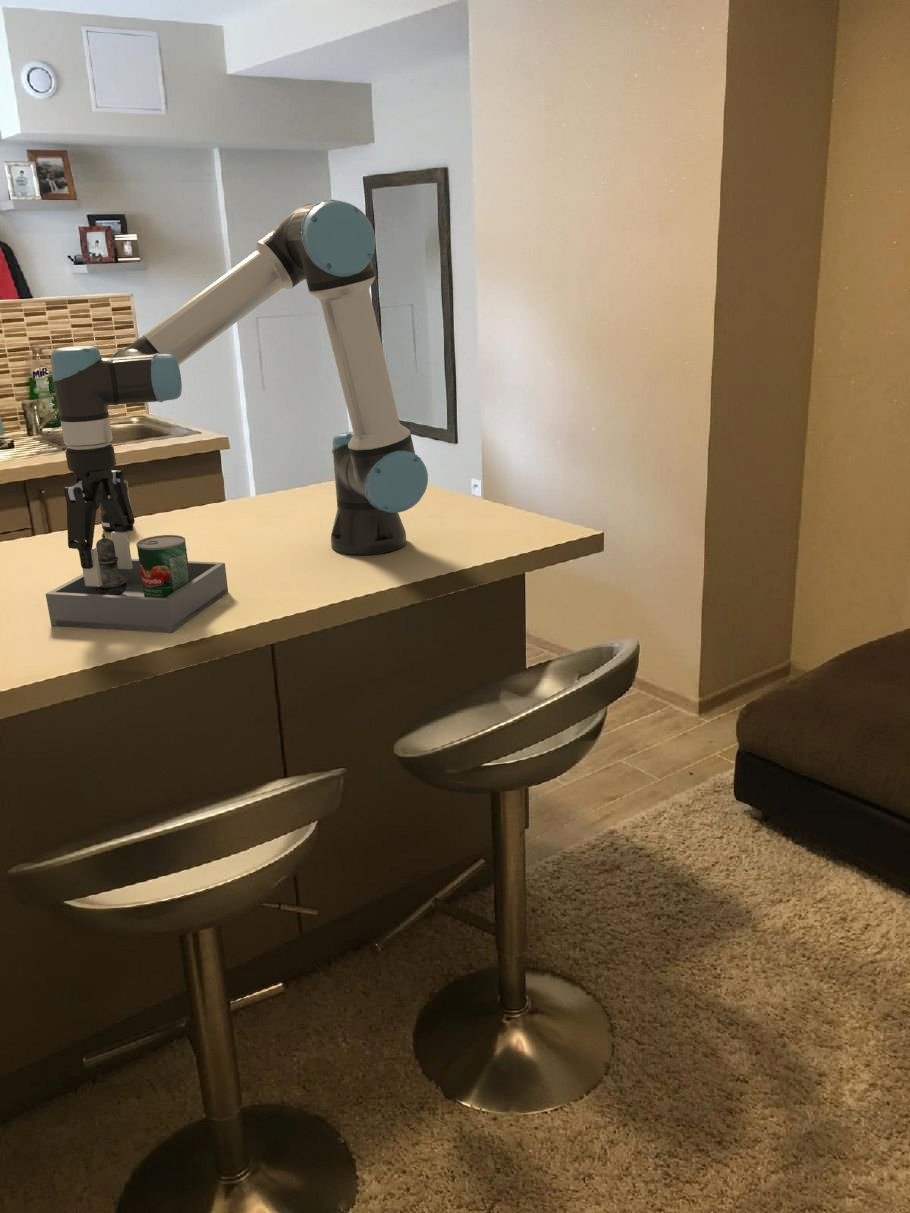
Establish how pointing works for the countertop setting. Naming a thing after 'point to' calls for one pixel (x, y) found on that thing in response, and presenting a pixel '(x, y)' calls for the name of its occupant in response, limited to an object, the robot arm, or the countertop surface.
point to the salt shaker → (109, 569)
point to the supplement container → (104, 518)
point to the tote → (137, 601)
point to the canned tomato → (163, 565)
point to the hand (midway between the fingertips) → (109, 576)
